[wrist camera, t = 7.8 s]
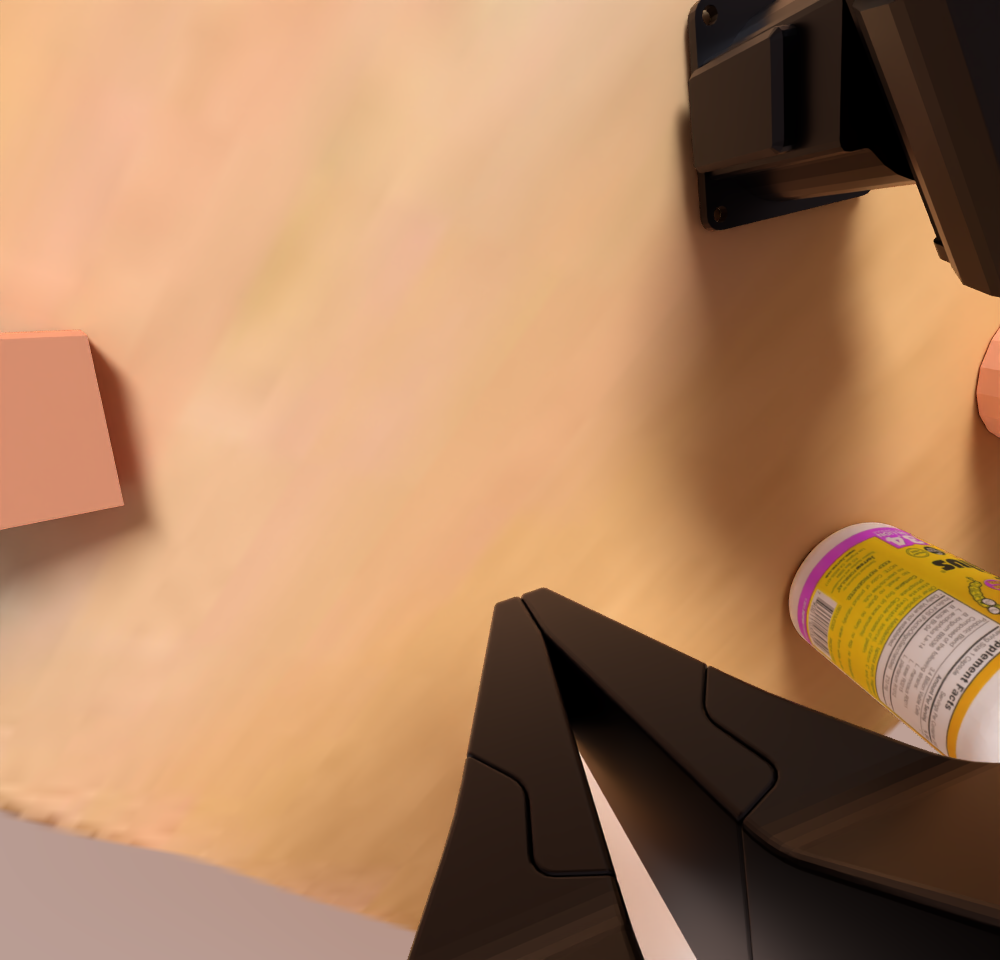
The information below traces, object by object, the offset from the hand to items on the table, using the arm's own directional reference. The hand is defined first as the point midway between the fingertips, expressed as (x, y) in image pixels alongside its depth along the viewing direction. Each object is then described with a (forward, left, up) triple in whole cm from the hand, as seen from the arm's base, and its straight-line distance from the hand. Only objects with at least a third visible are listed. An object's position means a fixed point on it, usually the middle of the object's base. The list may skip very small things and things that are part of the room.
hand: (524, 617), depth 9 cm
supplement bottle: (-17, +13, -12) cm, 24 cm away
